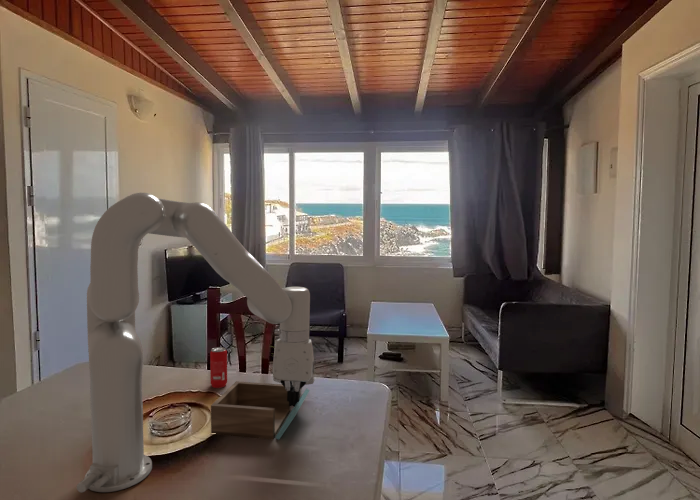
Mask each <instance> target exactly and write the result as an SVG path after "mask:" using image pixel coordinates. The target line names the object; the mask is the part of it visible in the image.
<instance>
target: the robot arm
mask: <svg viewBox="0 0 700 500" xmlns="http://www.w3.org/2000/svg"><path fill="white" fill-rule="evenodd" d="M148 234H149V235H150V234H151V235H157V236H159V235H160V236H165V237H177V238H184V239H185V238H186V239H187V240H188V242H190V243H191V245H192V246H193V247H194V248H195V250H197V251H198V253H199V254H200V255H201V256H202V257H203V259H204V260H206V262H207V263H208V264H209V266H211V268H212V269H213V270H214V271H215V273H216V274H217V275H219V276H220V277H221V278H222V279H223V280H225V281H226V282H228V283H229V284H231V285H232V286H234V287H235V288H236V289H237V290H239V291H240V293H242V294H243V295H244V296H245V298H247V299H246V304H247V307H248V310H249V311H250V312H251V314H253V315H255V316H257V317H258V318H260V319H262V320H263V321H265V322H267V323H268V324H272V325H278V324H279V328H278V329H274V333H273V334H274V335H275V336H276V335H277V336H278V339H276V342H275V346H274V347H275V348H274V351H273V352H274V354H273V363H272V378H273V379H272V381H274V382H276V383H279V384H282V385H283V386H284V387H285V388H286V391H287V401H289V406H291V407H292V408H294V407H295V406H296V404H297V402H299V400H300V397H301V394H300V389H301V388H304V386H309V385H313V384H314V382H315V377H314V374H315V358H314V347H313V343H312V339H310V318H311V317H310V314H311V313H310V310H311V306H310V305H311V293H310V290H309V289H308V288H307V287H303V286H288V287H283V288H282V286H281V285H280V284H279V283H278V282H277V280H276V279H275V278H274V276H272V274H270V272H269V271H267V269H266V268H265V267H263V265H262V264H260V262H259V261H258V260H257V259H256V257H254V255H252V254H251V253H250V252H249V251H248V250H247V249H246V247H244V246H243V244H242V243H241V242H240V240H238V239H237V236H235V234H233V232H232V231H231V229H230V228H229V227H228V226H227V224H226V223H225V222H224V221H223V219H222V218H221V217H220V216H219V214H217V212H216V211H215V210H214V209H213V208H212V207H211V206H210V205H208V204H207V203H203V202H185V201H177V200H176V201H175V200H170V199H165V198H160V197H159V198H158V197H157V196H155V195H154V194H152V193H148V192H136V193H132V194H130V195H127V196H125V197H124V198H122V199H120V200H119V201H117V202H115V203H114V204H112V205H111V206H110V207H108V208H107V209H106V211H104V213H103V214H102V215H101V216H100V218H98V220H97V222H96V224H95V226H94V230H93V232H92V235H91V242H90V243H91V244H90V268H89V269H90V272H89V273H90V275H89V276H90V282H89V285H88V287H87V290H86V317H87V318H86V321H87V322H86V324H87V326H86V327H87V348H88V351H87V353H88V364H89V365H88V368H89V369H88V370H89V394H90V398H89V401H90V417H91V418H90V419H91V420H90V421H91V422H90V423H91V424H90V425H91V447H92V448H91V450H92V453H91V454H92V464H91V465H89V469H88V470H87V472H86V473H85V476H84V479H82V480H81V481H80V482H78V483H77V485H76V490H77V491H78V492H79V493H82V494H83V493H85V492H86V491H87V490H90V491H91V492H95V493H96V492H98V493H111V492H117V491H122V490H124V489H127V488H130V487H132V486H135V485H137V484H138V483H140V482H141V481H143V480H144V479H146V478H147V477H148V476H149V475H150V473H151V472H152V469H153V461H152V459H151V458H150V457H149V456H148V455H146V454H145V452H144V450H145V449H144V413H143V412H144V411H143V409H144V406H143V405H144V404H143V402H144V401H143V367H144V366H143V365H144V364H143V363H144V352H143V351H144V350H143V345H142V342H141V340H140V338H139V336H138V334H137V332H136V310H137V308H138V305H139V303H140V293H139V273H138V272H139V271H138V269H139V268H138V262H139V249H140V244H141V242H142V240H143V239H144V237H145V236H147V235H148ZM292 381H296V383H295V388H294V387H293V383H292Z"/></svg>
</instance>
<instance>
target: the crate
mask: <svg viewBox="0 0 700 500" xmlns="http://www.w3.org/2000/svg"><path fill="white" fill-rule="evenodd" d="M291 408H292V406H289V401H287V391H286V388H285V387H284V386H283V385H282V384H281V383H279V384H278V383H266V382H253V381H252V382H251V381H240V380H238V381H237V380H236V381H234V383H233V384H232V385H231V386H230V387H229V388H227V390H225V391H224V392H223V393H222V394H221V395H220V396H219V397H218V398H217V399H216V400H215V401H214V402H213V403H212V404H211V405H210V434H211V433H216V434H215V435H214V436H225V437H237V438H248V439H259V440H271V441H272V440H273V441H274V439H276V436H277V434H278V433H279V431H280V429H281V428H282V426H283V424H284V423H285V421H286V419H287V418H288V416H289V414H290V413H291V411H292V409H291Z"/></svg>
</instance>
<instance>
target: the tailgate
mask: <svg viewBox="0 0 700 500" xmlns="http://www.w3.org/2000/svg"><path fill="white" fill-rule="evenodd" d="M310 391H311V390H310V389H308V388H305V390H304V391H303V393H302V394H301V395H300V400H299V402H297V404H296V406H295V407H292V409H291V411H290V413H289V415H288V416H287V418H286V419H285V421H284V423H283V424H282V426H281V428H280V429H279V431H278V433H277V434H276V436H275V439H277V440H278V441H279V440H281V438H282V436H283V435H284V433H285V432H286V430H287V429H288V427H289V426H290V424H291V423H292V421H293V420H294V419H295V417H296V415H297V414H298V412H299V411H300V408H301V407H302V405H303V403H304V401H305V400H306V398H307V396H308V394H309V393H310Z"/></svg>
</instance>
